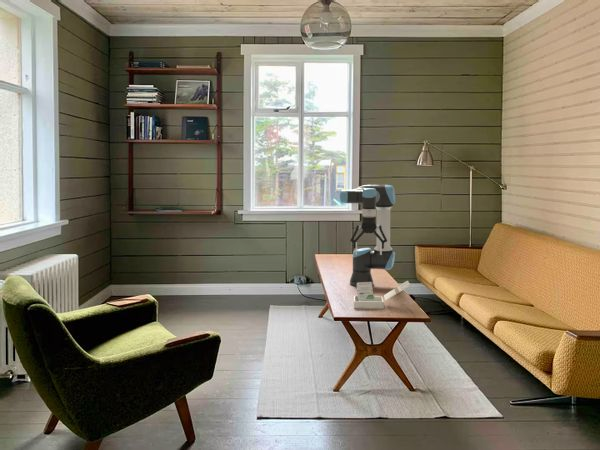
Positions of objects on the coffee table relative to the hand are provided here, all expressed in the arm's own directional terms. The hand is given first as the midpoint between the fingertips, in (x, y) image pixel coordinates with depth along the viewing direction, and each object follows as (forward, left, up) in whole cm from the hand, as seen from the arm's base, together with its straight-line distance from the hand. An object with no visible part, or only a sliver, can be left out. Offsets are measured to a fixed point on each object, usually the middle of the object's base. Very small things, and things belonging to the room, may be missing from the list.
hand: (368, 254), depth 346 cm
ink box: (+2, -1, -26) cm, 26 cm away
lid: (+2, +16, -20) cm, 25 cm away
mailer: (+2, 0, -29) cm, 29 cm away
